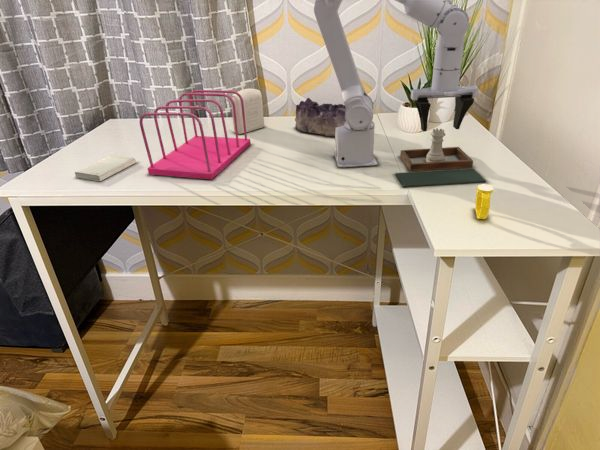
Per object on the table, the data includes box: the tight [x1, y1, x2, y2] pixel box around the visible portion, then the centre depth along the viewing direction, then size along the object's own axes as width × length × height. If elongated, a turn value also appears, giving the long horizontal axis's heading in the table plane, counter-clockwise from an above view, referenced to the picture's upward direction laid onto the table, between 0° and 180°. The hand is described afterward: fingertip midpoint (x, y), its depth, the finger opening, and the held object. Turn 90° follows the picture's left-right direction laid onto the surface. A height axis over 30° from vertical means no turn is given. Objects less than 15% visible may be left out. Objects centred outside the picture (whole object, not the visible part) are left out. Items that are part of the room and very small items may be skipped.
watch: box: [475, 183, 495, 220], centre depth 80 cm, size 6×3×6 cm, turn 168°
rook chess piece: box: [425, 128, 446, 162], centre depth 103 cm, size 4×4×8 cm
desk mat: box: [395, 168, 487, 188], centre depth 96 cm, size 18×7×1 cm, turn 93°
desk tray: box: [399, 146, 474, 172], centre depth 104 cm, size 15×10×2 cm, turn 93°
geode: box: [294, 97, 346, 137], centre depth 127 cm, size 20×12×10 cm, turn 64°
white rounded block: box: [230, 88, 265, 135], centre depth 131 cm, size 10×4×12 cm, turn 134°
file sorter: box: [139, 89, 252, 180], centre depth 110 cm, size 17×25×16 cm
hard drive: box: [74, 154, 137, 182], centre depth 110 cm, size 2×8×12 cm
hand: (439, 129), depth 101 cm, fingers open, 7 cm apart
